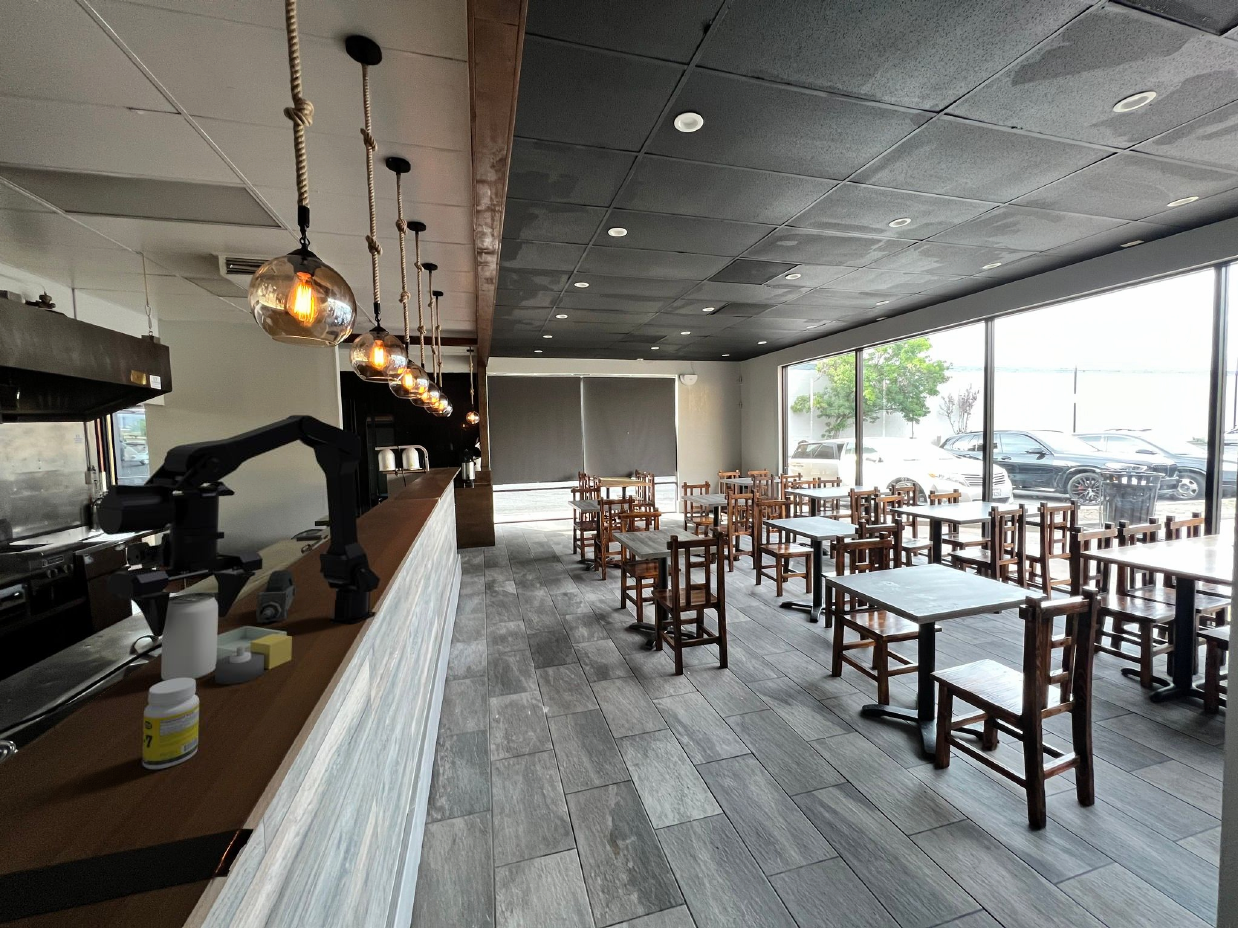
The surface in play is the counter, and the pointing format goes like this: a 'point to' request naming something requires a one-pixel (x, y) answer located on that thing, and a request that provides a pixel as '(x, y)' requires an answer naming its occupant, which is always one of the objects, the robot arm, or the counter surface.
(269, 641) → the yellow cube
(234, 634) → the tray
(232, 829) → the counter surface
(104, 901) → the counter surface
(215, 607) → the can
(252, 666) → the trolley wheel
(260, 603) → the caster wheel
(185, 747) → the supplement bottle
